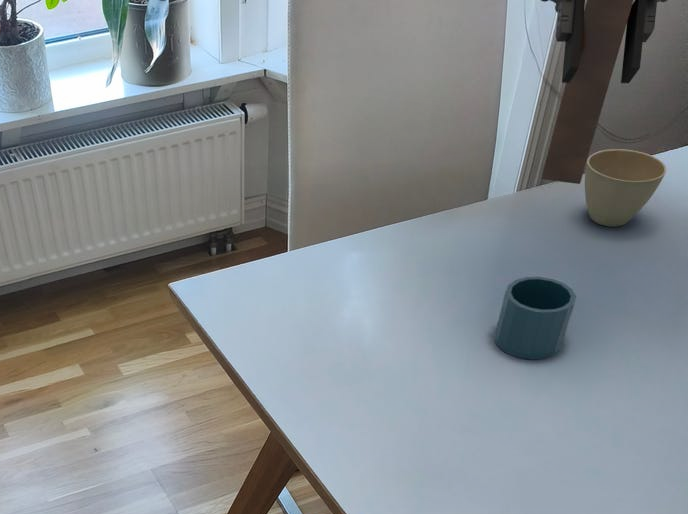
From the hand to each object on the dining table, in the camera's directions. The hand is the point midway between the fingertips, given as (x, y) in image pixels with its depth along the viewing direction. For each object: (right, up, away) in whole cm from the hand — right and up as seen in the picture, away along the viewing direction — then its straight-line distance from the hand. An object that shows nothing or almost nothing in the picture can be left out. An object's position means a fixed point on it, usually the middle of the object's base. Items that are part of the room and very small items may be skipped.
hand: (600, 75), depth 84 cm
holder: (0, -19, +20) cm, 27 cm away
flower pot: (+18, +5, +38) cm, 43 cm away
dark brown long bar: (+1, -4, +11) cm, 11 cm away
